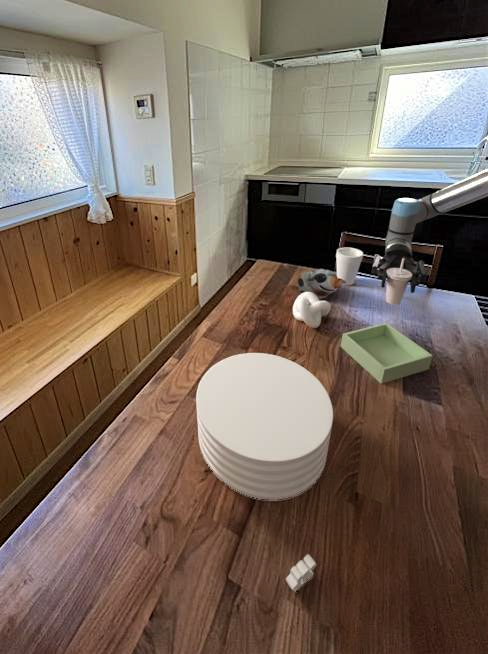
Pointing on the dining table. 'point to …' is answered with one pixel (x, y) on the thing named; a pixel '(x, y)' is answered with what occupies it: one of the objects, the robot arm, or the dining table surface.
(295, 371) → the plate stack
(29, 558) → the dining table surface
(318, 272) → the grey animal head
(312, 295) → the white puffy blob
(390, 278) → the smoothie
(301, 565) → the white stepped block
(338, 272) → the foam cup
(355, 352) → the bin
